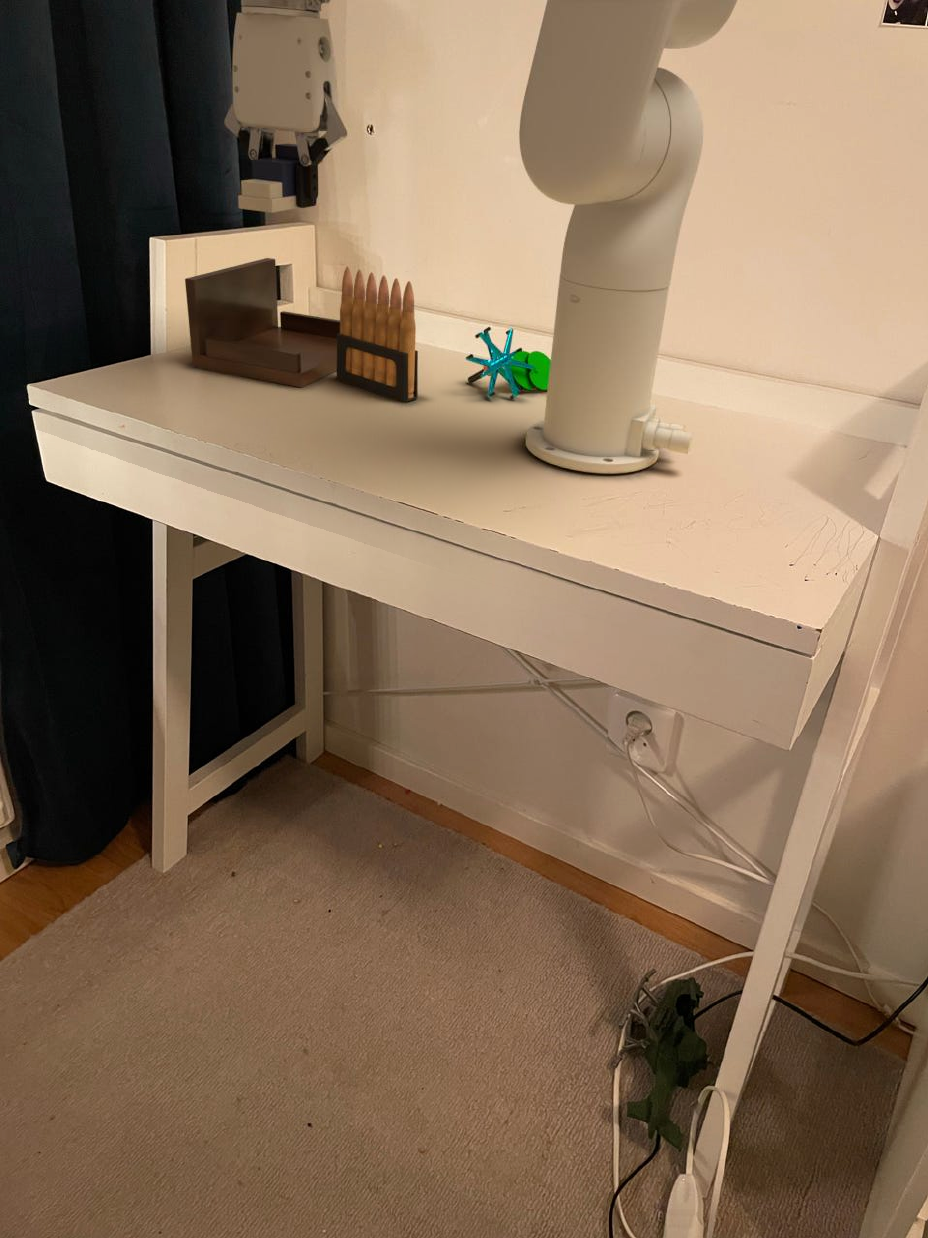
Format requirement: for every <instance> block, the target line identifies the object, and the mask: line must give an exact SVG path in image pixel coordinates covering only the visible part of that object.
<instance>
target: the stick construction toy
mask: <svg viewBox="0 0 928 1238" xmlns="http://www.w3.org/2000/svg"><path fill="white" fill-rule="evenodd" d="M491 330H492V327H490V326H488V327H486V328H485V329H483V330H482V331H483V332H482V331H480V332H478V333H476V334H475V335H474V338H475V339H479V338H480V339H481V340H482V341H483V342H484V344H485V345H486V346H487V350H488V354H489V357H490V359H486V358H481V357H477V356H474V354H473V353H470V354H469V355H467V356H466V357H465V360H466V361H468V362H471V363H474V364H477V365H481V366H482V367H483V368H482V369H480V370H478V371H477V372H475V373H473V374H472V375H470V376H468V377H467V382H468V383H469V384H473V383H476V382H478V381H479V380H481V379H483V378H486V376H487V377H490V379H489V385H488V390H487V398H488V399H490V398H493V397H494V396H496V392H495V391H494V390H495V386H496V383H497V378H498V375H500V376H501V377H502V378H503V379H504V380H505V382H507V383H508V385H509V388H510V390H511V393H512V395H511V394H510V398H509V399H510V400H513V399H516V398H517V397H518V394H520V393H523V392H524V391H526V392H532V391H534V390H537V391H541V392H544V391H547V390H548V381H549V372H550V362H551V358H550V357H549V356H548V355H546V354H545V353H543V352H542V351H539V350H534V351H531V352H529V351H525V350H523V348H522V347H519V348H517V349H515V350H514V351H512V352H511V349H512V348H511V347H512V343H513V337H514V336H513V335H514V329H513V328H510V329H508V330H506V331H505V335H506V336H507V337H506V339H505V343H504V348H503V351H501V349H499V348H498V347H497V346H496V344H494V343H493V342H492V338H491V335H490V331H491Z"/></svg>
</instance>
